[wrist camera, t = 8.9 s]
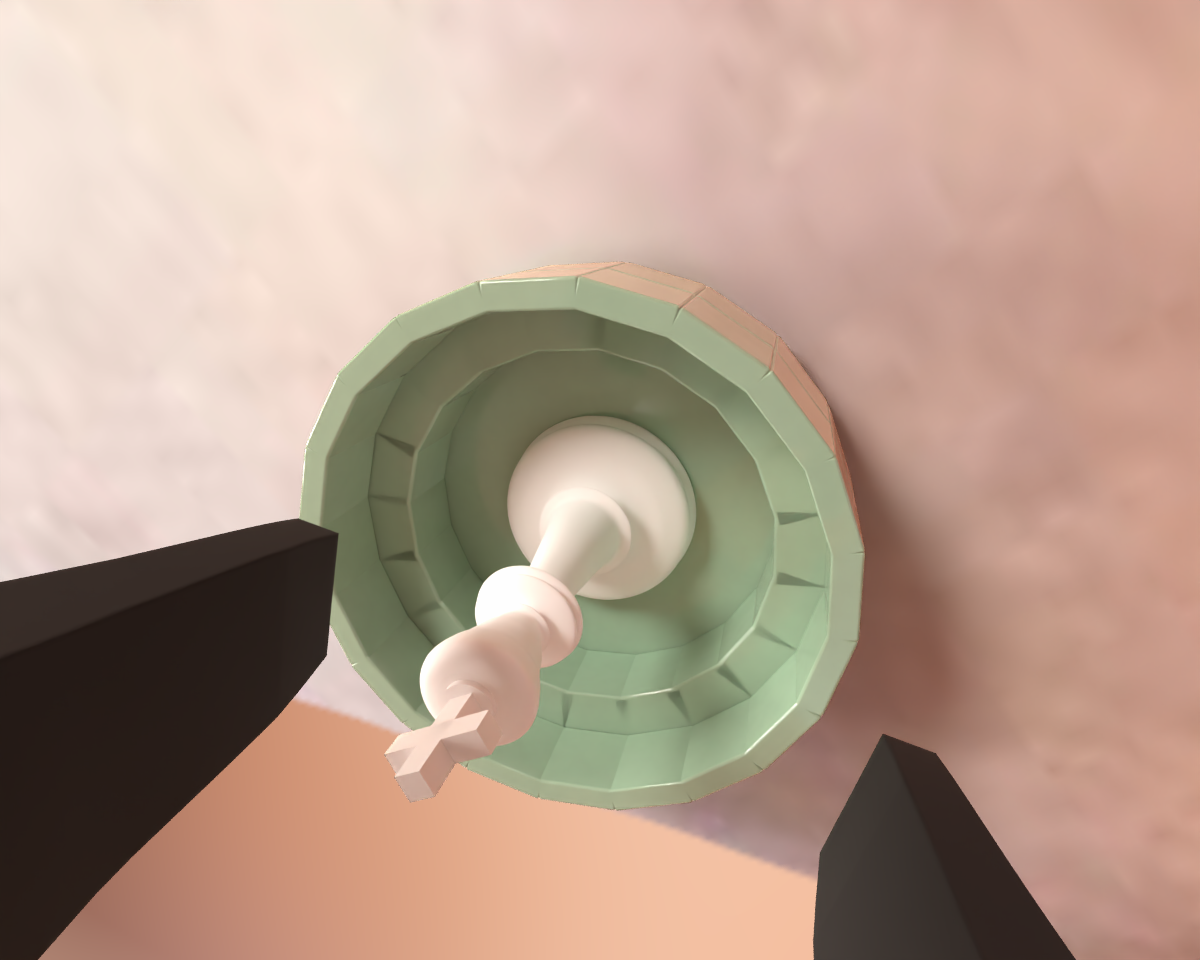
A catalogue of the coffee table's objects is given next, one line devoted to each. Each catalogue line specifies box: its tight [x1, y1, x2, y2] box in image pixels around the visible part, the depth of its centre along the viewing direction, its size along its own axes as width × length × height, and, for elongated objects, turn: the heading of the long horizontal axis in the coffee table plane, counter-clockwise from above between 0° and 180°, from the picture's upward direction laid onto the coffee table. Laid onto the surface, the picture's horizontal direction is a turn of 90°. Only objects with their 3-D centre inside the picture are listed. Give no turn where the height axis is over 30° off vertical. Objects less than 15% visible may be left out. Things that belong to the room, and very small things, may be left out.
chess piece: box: [384, 416, 696, 802], centre depth 14 cm, size 5×5×10 cm
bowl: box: [299, 262, 865, 810], centre depth 17 cm, size 12×12×4 cm
